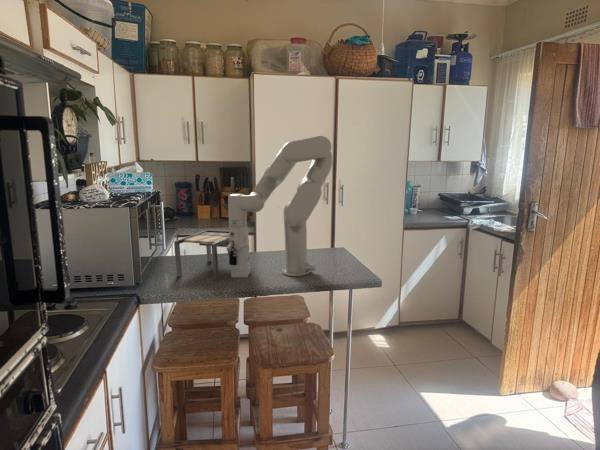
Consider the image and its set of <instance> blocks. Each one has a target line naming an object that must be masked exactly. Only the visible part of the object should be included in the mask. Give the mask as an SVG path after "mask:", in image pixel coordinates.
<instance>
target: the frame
mask: <svg viewBox="0 0 600 450" xmlns="http://www.w3.org/2000/svg"><path fill="white" fill-rule="evenodd" d="M205 232H214V233H229V230H216V229H205V230H202V231H200V232H197V233H196V232H195V233H194V234H191V235H188V236H185V237H183V238H180V239H177V240H174V241H173V245H174V254H175V255H174V257H175V268H176V277H178V278H179V277H182V276H183V272H182V261H181V260H182V259H181V257H182V256H181V248H180V244H182V243H185V242H184V240H185V239H188V238H191V237H193V236H196V235H198V234H202V233H205ZM228 241H229V237H227V238H225V239H222V240H220V241H217V242H215V243H213V244H212V246H205V248H206V260H207V262H208V263H211V262H212V271H213V272H212V273H213V281H216V282H217V281H219V280H220V277H219V276H220V275H219V261H218V260H219V259H218V247H217V246H219V245H221V244H224V243H226V242H228Z"/></svg>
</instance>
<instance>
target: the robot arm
mask: <svg viewBox="0 0 600 450" xmlns="http://www.w3.org/2000/svg"><path fill="white" fill-rule="evenodd" d="M330 140H331V139H329V138H327V136H324V135H317V136H312V137H309V138H304V139H298V140H292V141H291V140H290V141H288V142H286V143H284V144H283V146H282V148H280V150H279V151H278V152H277V154H276V155H275V157H274V158H273V160H272V161H271V163H270V164H269V165H268V167H267V168H266V170H264V173H263V175H262V176H261V178H260V180H259V181H258V183H257V184H256V185H255V186H254V188H253V189H252V191H251V192H250V193H249V194H248V195H246V194H244V193H232V194H229V195H228V198H227V200H228V201H227V203H228V205H227V207H228V208H227V209H228V228H229V230H228V231H229V245H228V246H227V247H226V251H227V254H228V258H229V259H228V260H229V261H228V263H229V265H230V266H231V265H237V257H236V256H235V255H236V252H237V251H240V250H241V249H242V248H244V247H246V246H248V245H249V246H250V242H249V241H250V239H249V229H248V222H247V221H248V219H247V212H250V213H259V212H261V211H262V210H263V209H264V207H265V203H266V202H267V200H269V198H270V196H271V195H272V194H273V192H274V191H275V190H276V189H277V187H279V186H280V185H282V183H283V182H284V181H285V180H286V178H287V177H288V176H289V174H290V173H291V171H292V170H293V168H294V167H295V166H296V164H297V163H301V162H307V161H311V163H310V166H309V167H308V169H307V171H306V172H305V174H304V176H303V177H302V179H301V181H300V182H299V183H298V185H297V188H296V192H295V194H294V196H293V198H292V200H289V201H288V202H287V203H286V204H285V205H284V208H283V224H284V225H283V226H284V228H283V229H284V257H285V258H284V260H285V263H284V264H285V267H284V268H282V270H281V272H282V274H283V275H285V276H287V277H288V276H289V277H302V276H306V275H309V274H311V272H312V271H313V272H314V271H316V270H317V266H316V265H315V264H310V261H308V247H307V246H308V245H307V244H308V243H307V239H308V238H307V237H308V235H307V232H308V231H307V221H308V219H309V218H310V216H311V215H312V213H313V211H314V209H315V208H316V206H317V205H318V203H319V201H320V199H321V196H322V187H323V185H324V183H325V182H326V179H327V178H328V176H329V174H330V172H331V170H332V165H333V154H332V151H331V150H332V143H331V141H330ZM233 248H235V249H233ZM233 251H234V253H233Z"/></svg>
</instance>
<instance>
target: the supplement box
mask: <svg viewBox="0 0 600 450" xmlns="http://www.w3.org/2000/svg"><path fill="white" fill-rule="evenodd" d="M233 249H235V248H233ZM233 253H234V251H233ZM235 256H236V257H237V265H230V273H231V274H230V275H231V276H230V277H231V278H249V275H250V273H251V260H250V259H251V257H250V256H251V254H250V244H249V245H248V246H246V247H244V248H242V249H241V250H240V251H237V252H236V255H235Z"/></svg>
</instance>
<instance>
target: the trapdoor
mask: <svg viewBox="0 0 600 450" xmlns="http://www.w3.org/2000/svg"><path fill="white" fill-rule="evenodd" d="M227 237H229V233H214V232H205V233H202V234H198V235H196V236H193V237H191V238H188V239H185V240H184V242H183V243H191V244H199V246H203V247H204V246H205V247H206V246H211V247H212V244H213V243H215V242H217V241H220V240H222V239H225V238H227ZM228 245H229V241H228V242H226V243H224V244H221V245H219V246H217V248H219V247H221V248H227V246H228Z"/></svg>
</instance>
